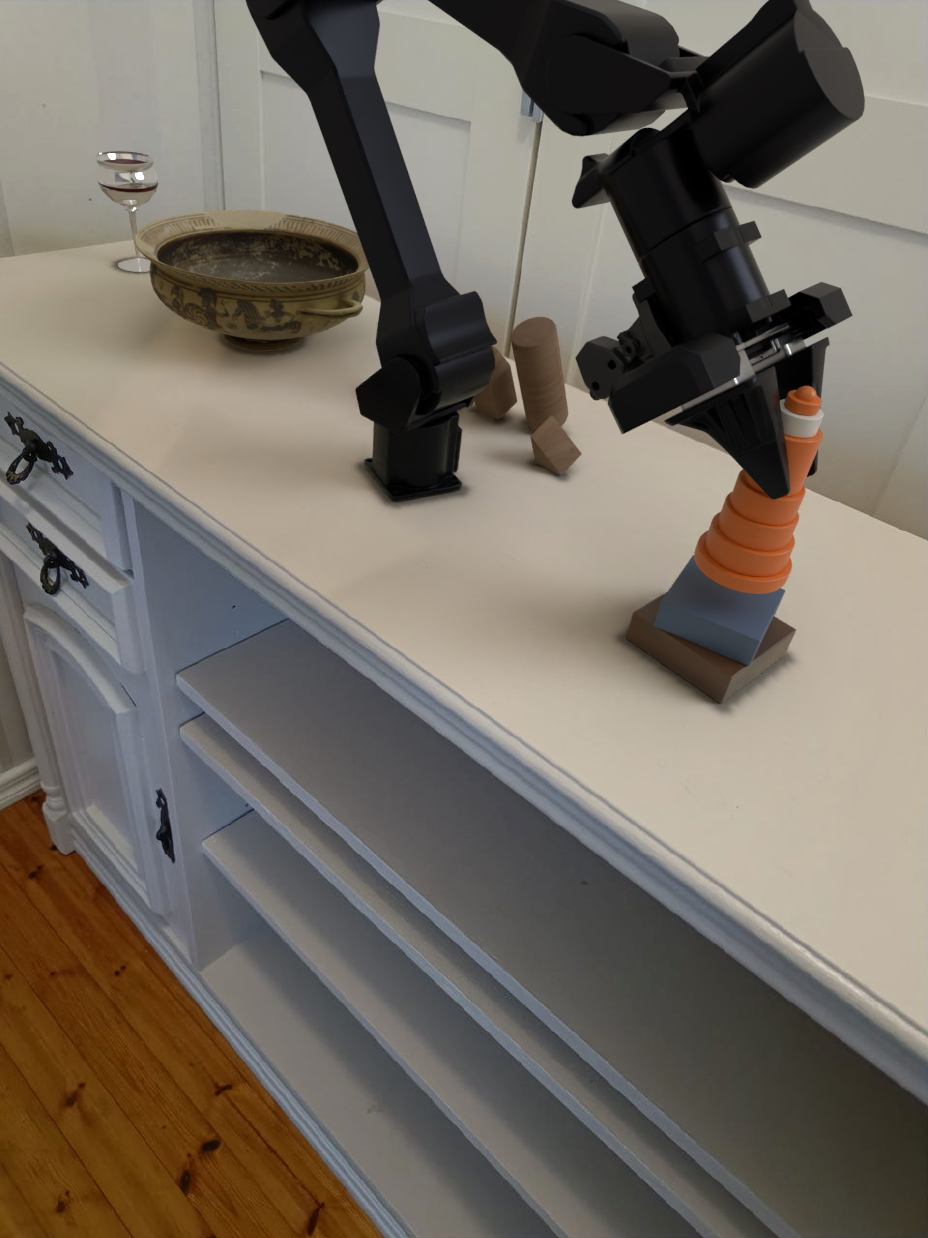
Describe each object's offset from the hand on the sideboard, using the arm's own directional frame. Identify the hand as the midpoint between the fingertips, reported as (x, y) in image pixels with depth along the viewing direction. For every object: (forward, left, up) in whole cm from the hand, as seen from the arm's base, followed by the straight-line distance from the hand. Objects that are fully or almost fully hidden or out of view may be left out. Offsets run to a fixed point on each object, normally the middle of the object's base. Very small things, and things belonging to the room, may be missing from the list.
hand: (795, 486), depth 50 cm
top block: (-1, +1, -11) cm, 11 cm away
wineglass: (-22, +85, -14) cm, 89 cm away
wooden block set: (+2, +34, -14) cm, 37 cm away
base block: (-1, +1, -13) cm, 14 cm away
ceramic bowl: (-14, +60, -14) cm, 63 cm away
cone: (0, +1, -7) cm, 7 cm away
